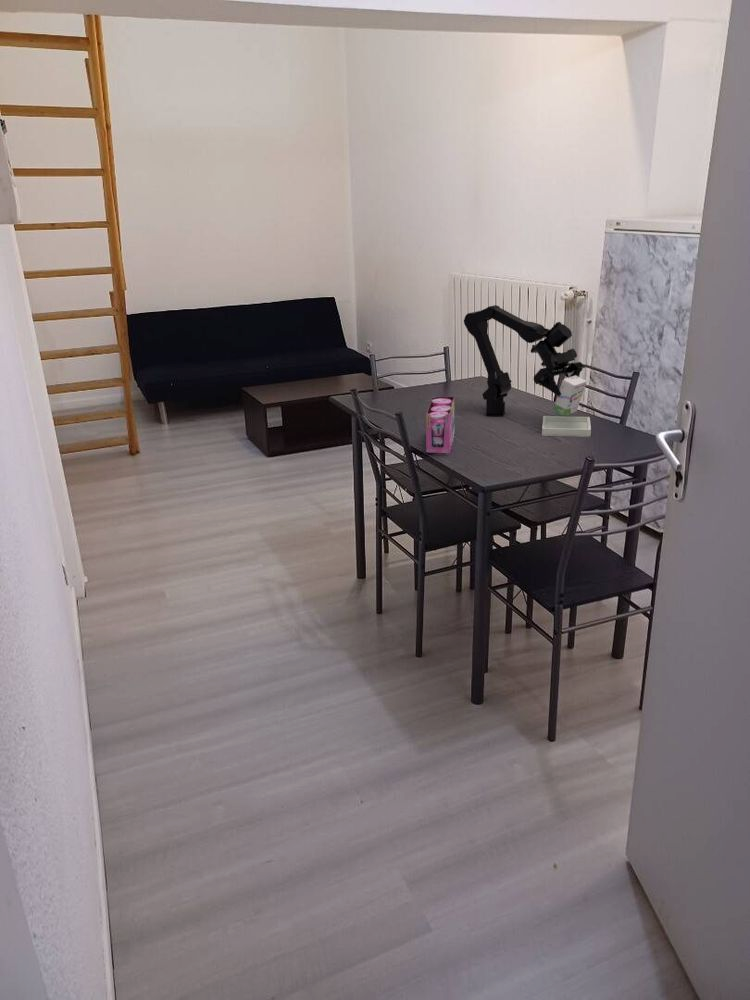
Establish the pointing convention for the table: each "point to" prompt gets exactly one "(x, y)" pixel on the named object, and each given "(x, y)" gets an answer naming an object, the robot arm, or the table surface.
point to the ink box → (569, 395)
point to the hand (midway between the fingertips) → (570, 393)
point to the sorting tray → (566, 426)
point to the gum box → (440, 425)
